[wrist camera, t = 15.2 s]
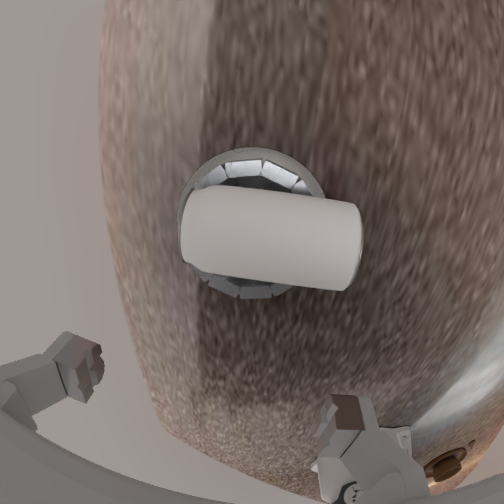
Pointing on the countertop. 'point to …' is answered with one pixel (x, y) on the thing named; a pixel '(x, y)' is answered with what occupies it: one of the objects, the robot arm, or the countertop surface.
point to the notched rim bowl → (258, 177)
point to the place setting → (446, 465)
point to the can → (271, 236)
